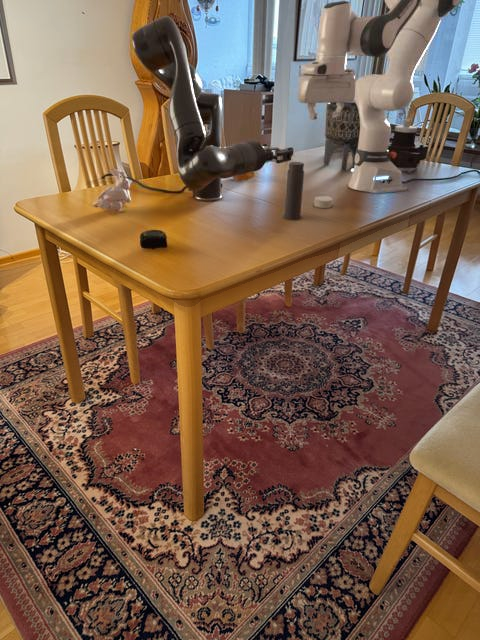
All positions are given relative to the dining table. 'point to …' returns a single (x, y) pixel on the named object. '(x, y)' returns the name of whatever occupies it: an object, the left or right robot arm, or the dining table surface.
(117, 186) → the figurine
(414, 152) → the mechanical component
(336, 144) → the planter
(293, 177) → the jar
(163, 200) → the dining table surface
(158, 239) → the tape measure
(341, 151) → the rock
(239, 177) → the toy
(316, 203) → the lid
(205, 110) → the left robot arm
